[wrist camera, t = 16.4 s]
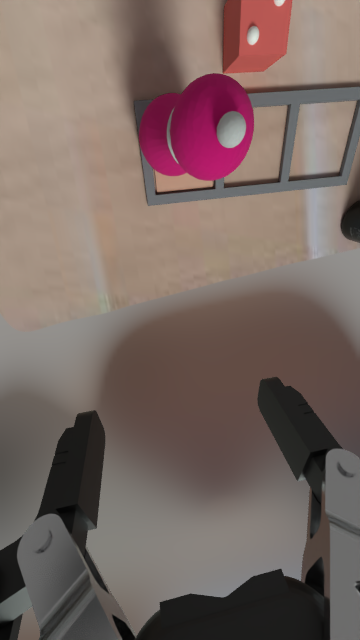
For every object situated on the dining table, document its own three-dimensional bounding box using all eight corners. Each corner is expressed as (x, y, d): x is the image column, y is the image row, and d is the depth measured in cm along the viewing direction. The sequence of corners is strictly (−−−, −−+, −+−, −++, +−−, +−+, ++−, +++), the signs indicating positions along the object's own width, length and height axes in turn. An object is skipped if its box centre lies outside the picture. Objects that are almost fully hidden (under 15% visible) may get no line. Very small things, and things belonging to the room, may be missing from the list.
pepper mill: (144, 86, 26) (213, -6, 11) (199, 119, 29) (315, 86, 14) (127, 159, 29) (161, 170, 14) (179, 182, 33) (253, 213, 17)
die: (223, 73, 27) (241, 53, 23) (224, 6, 25) (245, -32, 20) (263, 71, 28) (289, 51, 23) (268, 5, 25) (299, -32, 21)
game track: (148, 205, 33) (148, 205, 33) (133, 102, 28) (133, 100, 27) (343, 184, 36) (346, 184, 36) (369, 87, 31) (373, 85, 30)
